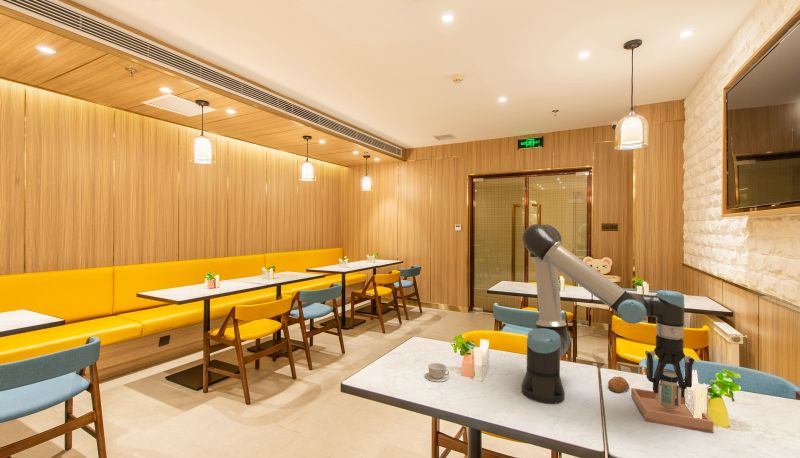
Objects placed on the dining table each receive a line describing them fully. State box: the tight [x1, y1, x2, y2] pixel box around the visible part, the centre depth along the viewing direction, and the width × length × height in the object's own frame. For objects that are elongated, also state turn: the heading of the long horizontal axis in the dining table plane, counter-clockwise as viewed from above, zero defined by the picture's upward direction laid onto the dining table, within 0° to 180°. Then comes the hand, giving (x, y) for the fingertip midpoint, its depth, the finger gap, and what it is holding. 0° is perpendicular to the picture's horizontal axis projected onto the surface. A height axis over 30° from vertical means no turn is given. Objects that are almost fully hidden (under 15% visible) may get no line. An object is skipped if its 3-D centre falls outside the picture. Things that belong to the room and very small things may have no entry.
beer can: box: [659, 368, 678, 409], centre depth 119 cm, size 5×5×12 cm
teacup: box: [424, 362, 450, 382], centre depth 145 cm, size 10×10×5 cm
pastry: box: [607, 376, 630, 393], centre depth 137 cm, size 9×7×4 cm
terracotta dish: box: [630, 387, 714, 434], centre depth 119 cm, size 18×18×4 cm
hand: (668, 404), depth 119 cm, fingers closed on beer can, 5 cm apart
